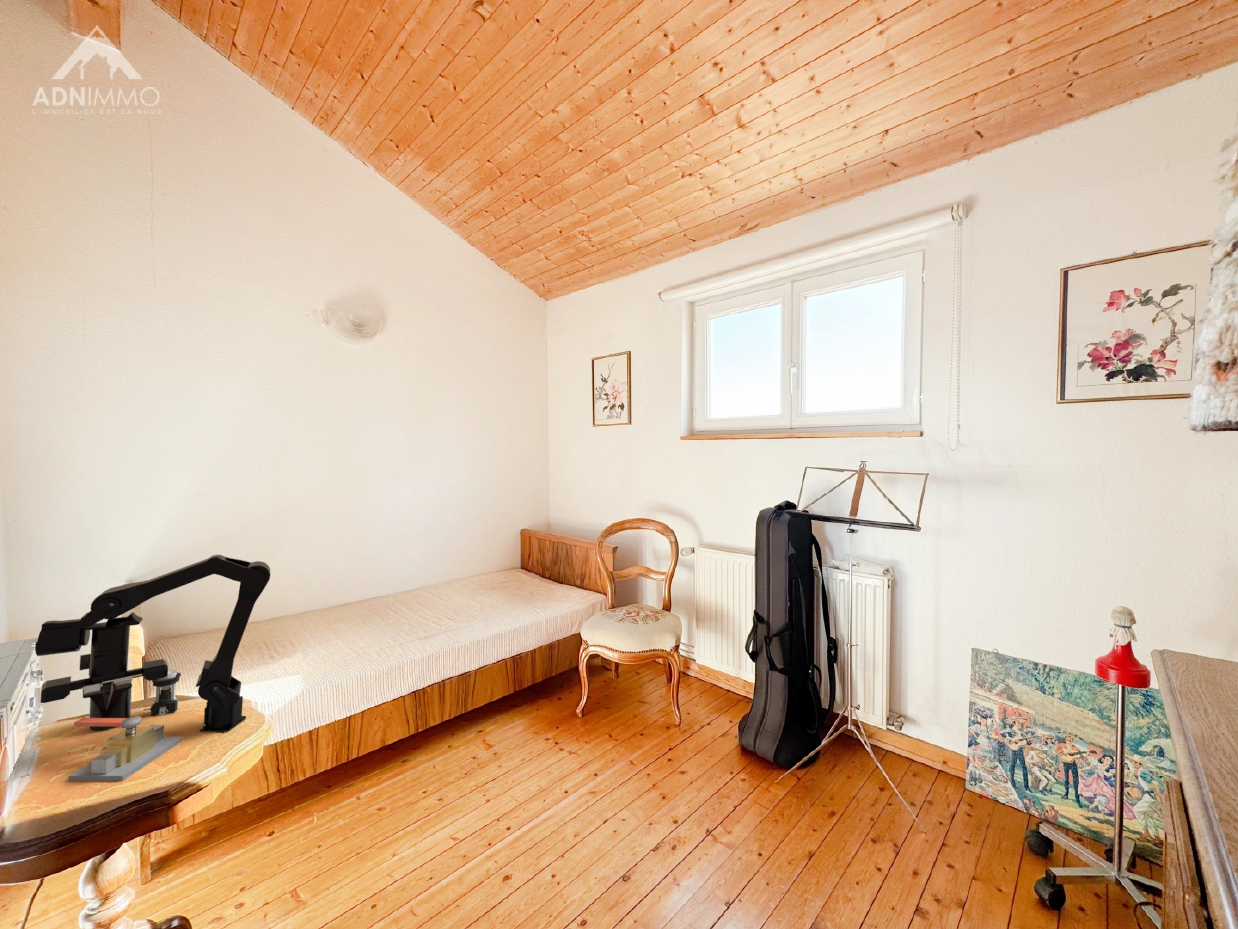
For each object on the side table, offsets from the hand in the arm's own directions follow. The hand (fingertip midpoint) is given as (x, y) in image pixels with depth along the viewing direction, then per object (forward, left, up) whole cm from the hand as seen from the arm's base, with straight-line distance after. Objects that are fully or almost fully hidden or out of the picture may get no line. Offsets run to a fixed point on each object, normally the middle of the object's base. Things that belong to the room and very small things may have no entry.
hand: (105, 718), depth 105 cm
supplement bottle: (+9, -11, -7) cm, 16 cm away
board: (-8, +3, -7) cm, 11 cm away
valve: (-8, +3, -7) cm, 11 cm away
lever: (-4, +3, 0) cm, 5 cm away
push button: (+2, -16, -7) cm, 18 cm away
